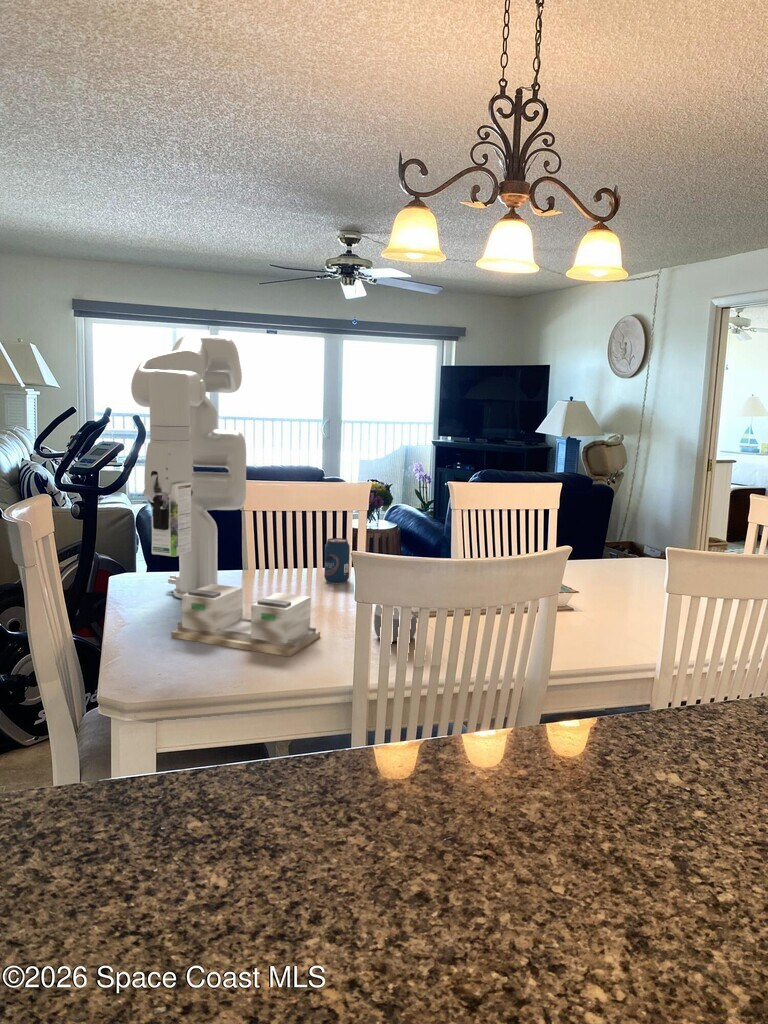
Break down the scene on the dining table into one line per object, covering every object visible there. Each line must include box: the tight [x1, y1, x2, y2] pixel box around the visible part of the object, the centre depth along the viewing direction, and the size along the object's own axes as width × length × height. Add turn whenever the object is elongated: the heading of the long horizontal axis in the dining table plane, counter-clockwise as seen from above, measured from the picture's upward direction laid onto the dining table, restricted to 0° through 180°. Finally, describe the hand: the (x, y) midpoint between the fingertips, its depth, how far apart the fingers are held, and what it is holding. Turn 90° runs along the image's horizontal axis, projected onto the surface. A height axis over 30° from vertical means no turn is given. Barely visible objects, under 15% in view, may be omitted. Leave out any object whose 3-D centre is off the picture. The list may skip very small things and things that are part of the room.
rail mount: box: [170, 584, 321, 657], centre depth 156 cm, size 28×14×10 cm, turn 70°
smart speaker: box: [373, 604, 418, 644], centre depth 158 cm, size 10×9×14 cm
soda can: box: [324, 537, 351, 585], centre depth 207 cm, size 7×7×12 cm
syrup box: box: [150, 482, 191, 558], centre depth 146 cm, size 6×6×14 cm
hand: (171, 525), depth 146 cm, fingers closed on syrup box, 5 cm apart
